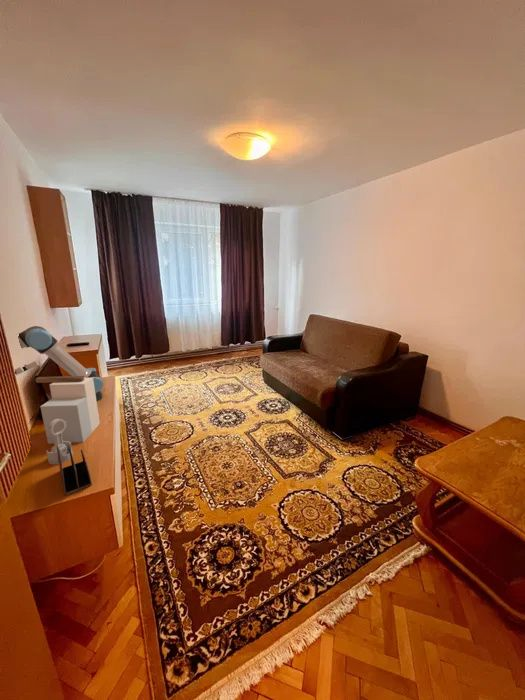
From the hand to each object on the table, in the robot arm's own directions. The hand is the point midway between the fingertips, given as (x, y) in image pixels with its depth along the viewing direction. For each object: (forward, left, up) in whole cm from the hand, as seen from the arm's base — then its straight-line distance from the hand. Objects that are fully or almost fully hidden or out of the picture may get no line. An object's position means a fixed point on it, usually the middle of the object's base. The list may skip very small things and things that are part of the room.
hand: (30, 365), depth 157 cm
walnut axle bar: (+2, +15, -9) cm, 18 cm away
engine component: (+30, +26, -39) cm, 56 cm away
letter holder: (+46, +41, -39) cm, 73 cm away
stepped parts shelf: (+7, +21, -39) cm, 45 cm away
